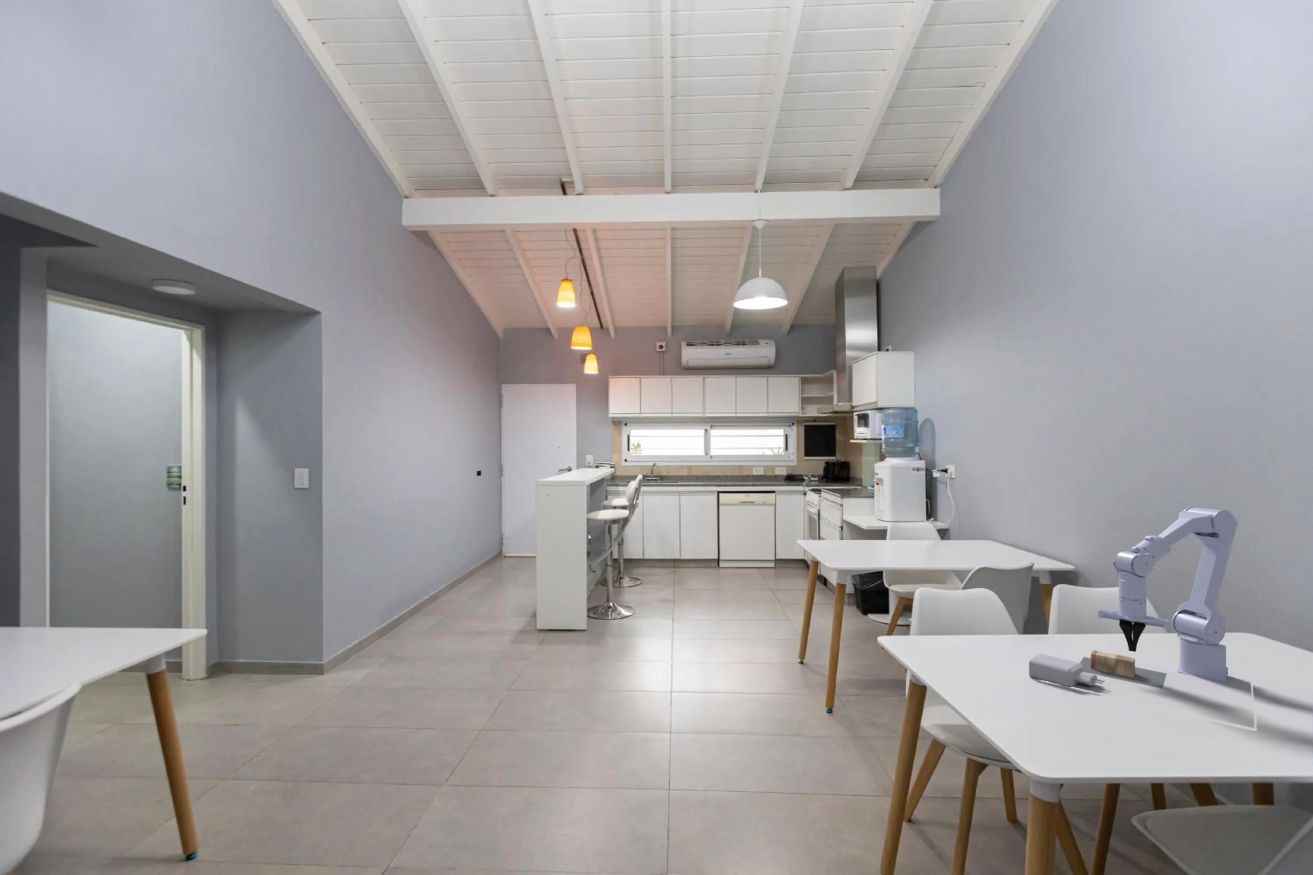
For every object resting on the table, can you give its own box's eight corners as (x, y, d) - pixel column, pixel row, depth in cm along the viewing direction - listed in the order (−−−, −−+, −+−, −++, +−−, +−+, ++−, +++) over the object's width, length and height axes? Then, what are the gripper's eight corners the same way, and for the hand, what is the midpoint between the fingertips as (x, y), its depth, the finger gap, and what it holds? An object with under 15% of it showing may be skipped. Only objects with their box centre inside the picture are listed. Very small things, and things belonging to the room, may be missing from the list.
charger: (1096, 696, 147) (1028, 677, 159) (1109, 688, 153) (1043, 670, 165) (1096, 677, 147) (1028, 659, 159) (1109, 668, 153) (1043, 652, 165)
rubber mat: (1166, 675, 161) (1166, 673, 161) (1162, 690, 151) (1162, 688, 151) (1084, 658, 174) (1084, 656, 174) (1074, 671, 163) (1074, 669, 163)
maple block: (1135, 658, 161) (1093, 650, 167) (1133, 661, 158) (1090, 653, 164) (1135, 673, 161) (1093, 664, 167) (1133, 677, 158) (1091, 668, 164)
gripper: (1096, 596, 162) (1096, 647, 162) (1167, 606, 152) (1167, 660, 152) (1100, 591, 167) (1100, 641, 167) (1169, 601, 157) (1169, 654, 157)
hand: (1132, 650), depth 160 cm, fingers closed
